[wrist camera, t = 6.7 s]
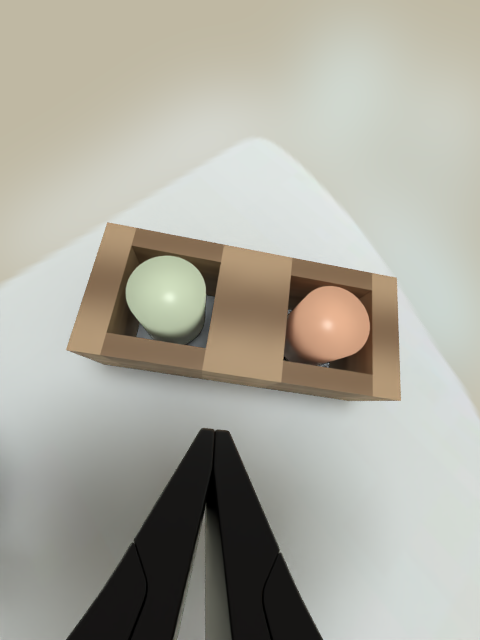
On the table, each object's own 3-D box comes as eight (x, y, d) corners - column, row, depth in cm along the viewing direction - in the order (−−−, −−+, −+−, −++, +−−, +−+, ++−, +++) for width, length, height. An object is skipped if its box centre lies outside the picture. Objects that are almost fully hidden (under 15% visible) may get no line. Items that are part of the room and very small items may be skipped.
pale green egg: (199, 350, 20) (198, 334, 15) (137, 340, 20) (116, 321, 15) (209, 294, 21) (211, 263, 17) (151, 283, 21) (136, 249, 16)
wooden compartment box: (349, 400, 22) (400, 400, 16) (103, 364, 21) (66, 349, 15) (351, 306, 25) (396, 277, 19) (131, 267, 23) (107, 222, 17)
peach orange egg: (331, 371, 21) (369, 362, 16) (274, 362, 21) (296, 350, 16) (333, 316, 22) (369, 292, 17) (279, 306, 22) (301, 280, 17)
